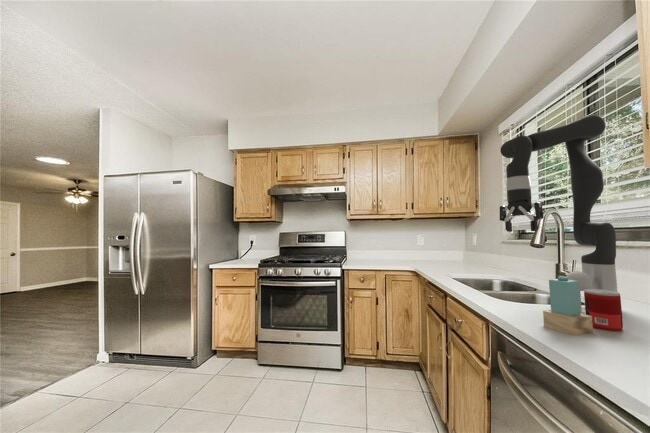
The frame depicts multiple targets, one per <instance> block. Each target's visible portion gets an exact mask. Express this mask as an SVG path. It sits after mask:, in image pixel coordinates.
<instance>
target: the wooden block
mask: <svg viewBox="0 0 650 433" xmlns="http://www.w3.org/2000/svg"><path fill="white" fill-rule="evenodd" d="M542 315H543V318H542V319H543V326H544V327H546V328H549V329H552V330H555V331H558V332H561V333H564V334H567V335H570V336H574V335H585V334H593V333H594V328H593V324H592V316H589V315H586V313H585V314H584V313H581V314H580V315H575V316H566V315H562V314H558V313H554V312H551V309H550V310H549V309H548V310H542Z"/></svg>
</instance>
